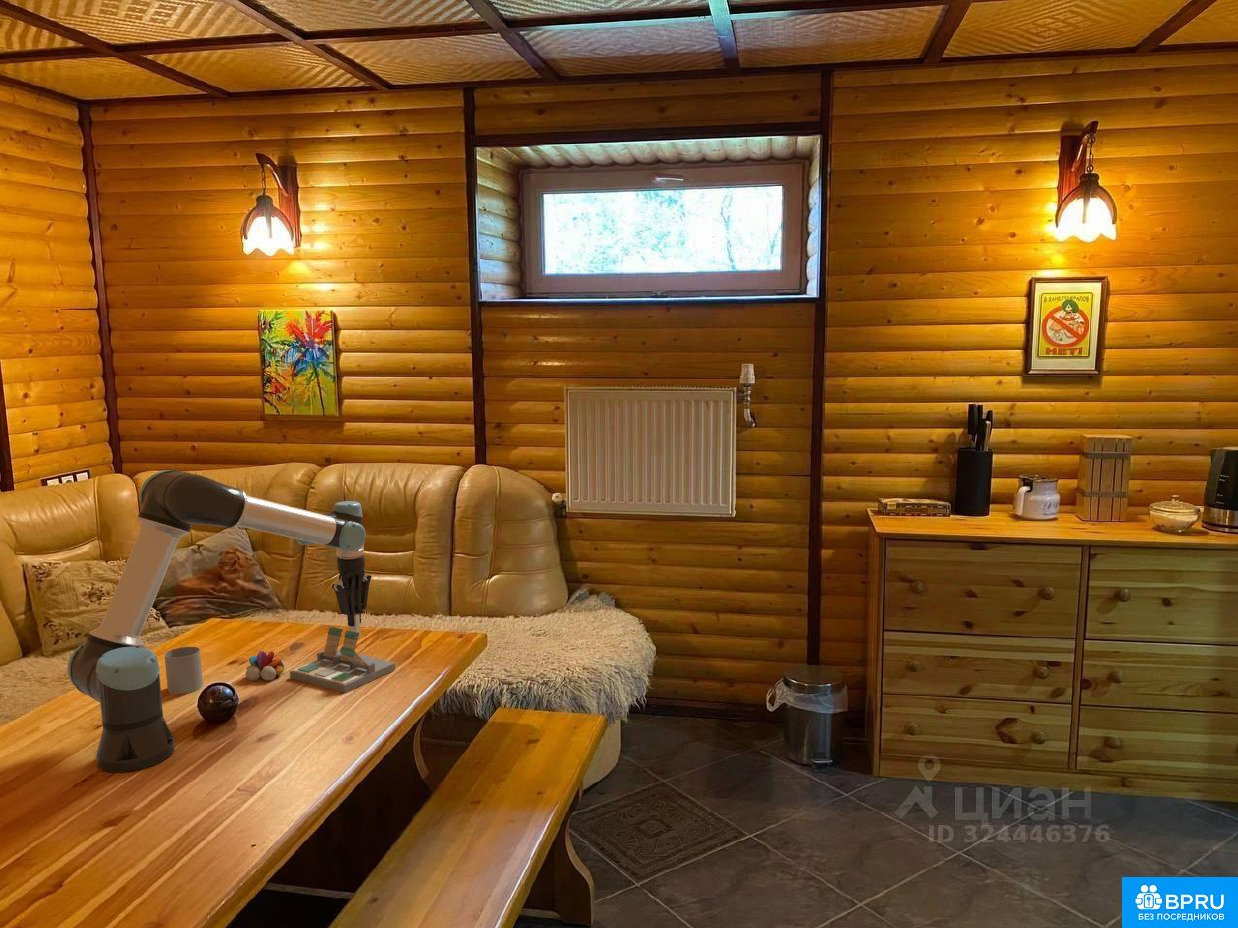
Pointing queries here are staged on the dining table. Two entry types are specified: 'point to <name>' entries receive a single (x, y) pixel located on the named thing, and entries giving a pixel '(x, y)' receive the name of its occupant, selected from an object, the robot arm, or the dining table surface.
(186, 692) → the cup
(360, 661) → the lever
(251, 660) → the rainbow disc wheeled toy
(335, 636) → the lever
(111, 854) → the dining table surface
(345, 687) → the switch board
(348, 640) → the lever
